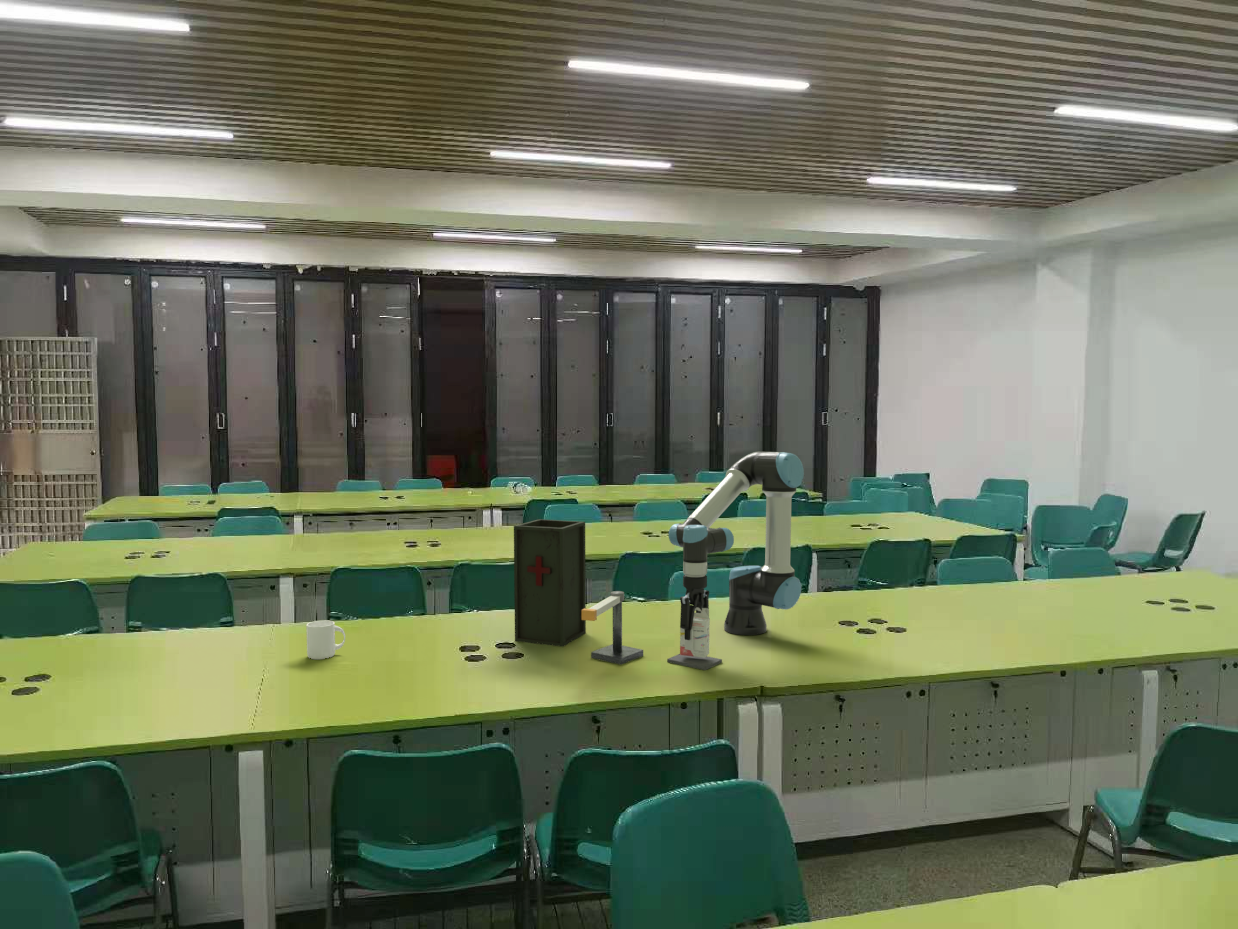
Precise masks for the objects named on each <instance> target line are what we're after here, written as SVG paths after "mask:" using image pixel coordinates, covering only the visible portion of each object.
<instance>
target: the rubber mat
mask: <svg viewBox="0 0 1238 929" xmlns="http://www.w3.org/2000/svg"><path fill="white" fill-rule="evenodd" d="M667 663H670V664H673V665H674V664H675V665H679V666H683V667H689V668H693V669H698V670H703V671H708V670H709V669H711V668H714V667H715V666H718V665H719V664H721V663H723V659H722V658H717V657H712V656H708V655H707V657H706V658H703V657H694V656H685V655H680V653H678V654H675V655H674V656H671V657H669V658H667Z"/></svg>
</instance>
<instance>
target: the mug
mask: <svg viewBox="0 0 1238 929" xmlns="http://www.w3.org/2000/svg"><path fill="white" fill-rule="evenodd" d="M335 624H336V623H335V621H333V620H328V619H326V620H325V619H321V620H314V621H310V622H308V623H307V624H305V626H306V655H307V657H308V658H309V659H310V658H311V660H325V658H327V659H329V657H330V658H333V657H334V656H335V654H336V651H337V650H339V649H341V648H342V647H343V646H344V644H345V642H346V632H345V631H344V629H343V628H341V627H340V626H338V625H335ZM336 632H340V633H341V634H342V635H343V640H342V642H341V643H339V644H337V643H336Z"/></svg>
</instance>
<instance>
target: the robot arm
mask: <svg viewBox="0 0 1238 929" xmlns="http://www.w3.org/2000/svg"><path fill="white" fill-rule="evenodd" d="M804 472H805V471H804V466H803V462H802V461H801V459H800V458H799V456H797V455H796V454H795V453H791V452H786V451H785V452H784V451H782V452H780V451H762V450H760V451H759V450H758V451H753V452H751V453H748V454H747V455H744V456H743V457H742V458H740V459H739V460H737V461H736V462H735V463H733V464H732V465H731V467H729V468H728V470H727V471H726V473H725V476H724V478H723V479H722V480H721V481H720V482H719V484H717V485H716V487H714V489H713V490H712V491H711V492H710V494H708V496H707V497H705V499H704V500H703V501H702V502H701V503H700V504H699V505H698V506H697V507H696V509H695V510H694V511H693V512H692V513H691V514H690V515H689V517H687V518H686V520H684V522H683V523H680V522H679V523H674V524H672V525H671V526H670V527H669V530H668V540H669V542H670V543H671V544H672V546H676V547H679V548H682V553H683V554H682V556H683V557H682V560H683V563H682V566H683V567H682V573H683V575H682V586H683V588H685V589H686V590H685V596H680V599H679V602H680V616H679V617H680V620H679V628H682V629H684V630H685V649H687V650H693V629H692V624H693V618H694V613H701V611H702V608H708V609H709V610H710V606H709V605H710V603H709V601H710V600H709V596H710V590H707V589H706V588H707V586H708V575H707V574H708V555H709V554H716V553H723V552H726V551H729V550H731V549H732V547H733V546H734V541H735V537H734V533H733V532H732V531H731V530H730V529H729V528H727V527H717V528H714V527H711V526H712V525H713V524H714V523H715V522H716V521H717V519H719V518H720V516H721V515H722V514H723V513H725V511H726V510H727V509H728V507H729V506H730V505H731V504H732V503H733V502H734V501H735V500H736V498H738V496H739V495H740V494H741V493H743V492H746V491H748V490H749V488H750V487H752V486H756V485H761V492H762V493H763V494H765V497H766V498H765V499H766V501H765V502H766V503H765V506H766V507H765V544H764V545H765V546H764V547H765V548H764V549H765V550H764V552H765V554H764V555H765V557H764V559H765V560H764V565H763V566H761V565H743V566H736V567H735V566H734V567H733V568H731V569H730V572H729V579H728V584H729V585H728V586H729V587H728V589H729V591H728V592H729V594H728V595H729V596H728V597H729V598H728V599H729V600H728V601H729V602H728V603H729V606H728V611H727V615H726V617H725V620H724V625H723V628H724V631H725V632H726V633H730V634H734V635H739V636H741V635H742V636H757V635H762V634H764V633H765V634H766V632H767V630H768V628H767V621H766V618H765V616H764V612H763V606H764V607H767V608H768V607H769V608H773V609H776V610H780V609H781V610H785V611H786V610H790V609H792V608H793V607H794V606H795V605H797V602H798V601H799V599H800V596H801V594H802V583H801V581H800V579H799V578H798V577H796V576H795V569H794V567H792V565H791V542H792V541H791V539H792V538H791V537H792V536H791V535H792V498H793V496H794V495H795V493H796V492H797V488H798V487H799V486H801V484H802V483H803V482H802V481H803V480H804V476H805V475H804ZM705 589H706V590H705ZM697 607H698V608H700V609H701V611H698V610H696V611H695V608H697Z"/></svg>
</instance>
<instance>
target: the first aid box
mask: <svg viewBox="0 0 1238 929" xmlns="http://www.w3.org/2000/svg"><path fill="white" fill-rule="evenodd" d="M513 576H514V577H513V587H514V588H513V589H514V590H513V592H514V593H513V595H514V599H513V600H514V642H519V643H528V644H536V645H542V646H543V645H544V646H553V647H562V648H564V647H565V646H567V645H569V644H570V643H572V642H573V641H575V640H577V639H578V638H580V637H582V636H584V635H585V634H587V631H586V630H587V627H586V625H587V622H586V621H587V620H582V609H584V608H585V609H587V608H586V607H587V605H586V604H587V603H586V602H587V601H586V598H587V597H586V592H587V591H586V586H587V584H586V579H587V578H586V521H579V520H578V521H577V520H576V521H575V520H561V519H560V520H557V519H556V520H555V519H541V518H540V519H539V518H538V519H536V520H535V519H534V520H531V521H528V522H524V523H520V524H516V525H513Z"/></svg>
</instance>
